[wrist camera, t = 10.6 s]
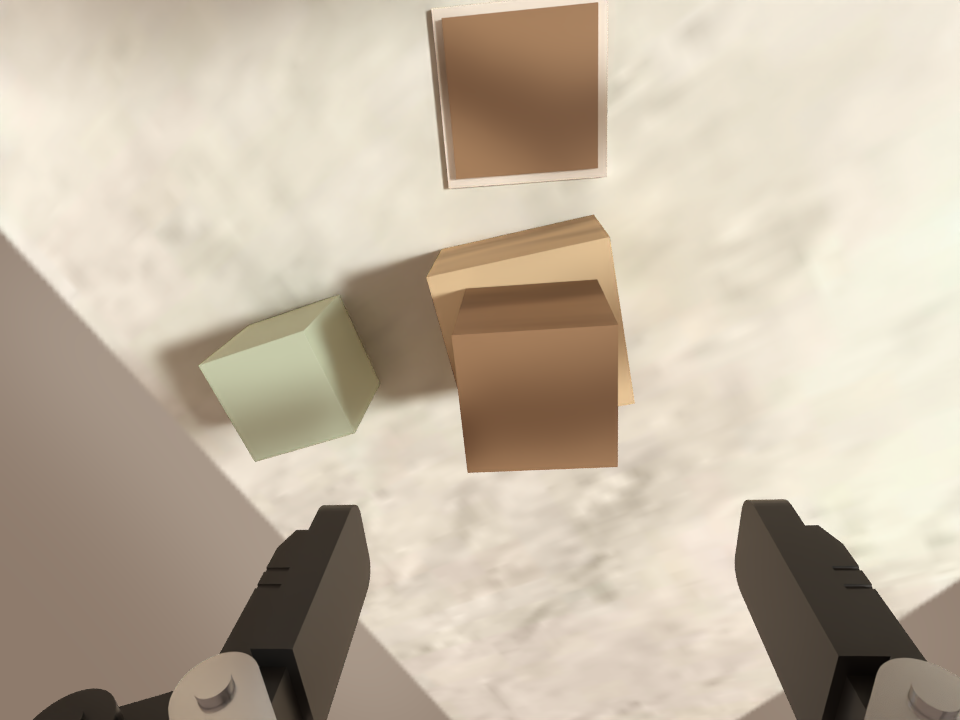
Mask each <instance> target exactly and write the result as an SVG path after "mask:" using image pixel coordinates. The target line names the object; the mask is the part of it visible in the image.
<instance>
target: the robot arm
mask: <svg viewBox="0 0 960 720" xmlns="http://www.w3.org/2000/svg"><path fill="white" fill-rule="evenodd" d="M735 572H736V578H737V582H738V586H739V589H740V591H741V594H742V596H743V598H744V601H745V603H746V605H747V607H748V610H749V612H750V614H751V617H752V619H753V621H754V623H755V626H756V628H757V630H758V632H759V635H760V637H761V639H762V642H763V644H764V646H765V648H766V651H767V653H768V655H769V658H770V660H771V662H772V664H773V667H774V669H775V671H776V673H777V676H778V678H779V680H780V683H781V685H782V687H783V689H784V692H785V694H786V696H787V699H788V701H789V703H790V705H791V707H792V710H793V712H794V714H795V717H796V719H797V720H960V678H959V677H958V676H956V675H955V674H953V673H951V672H950V671H948V670H945V669H944V668H942V667H940V666H937V665H935V664H932V663H930V662H927V661H926V660H925V658H924V657H923V655H922V654H921V653H920V651H919V650H918V648H917V647H916V646H915V644H914V643H913V641H912V640H911V639H910V637H909V636H908V634H907V633H906V632H905V630H904V629H903V627H902V626H901V625H900V623H899V622H898V620H897V619H896V618H895V616H894V615H893V613H892V612H891V611H890V609H889V608H888V606H887V605H886V604H885V602H884V601H883V599H882V598H881V597H880V595H879V594H878V592H877V591H876V590H875V589H873V588H872V584H871V583H870V581H869V580H868V578H867V577H866V576H865V574H864V573H863V571H862V570H859V566H858V564H857V563H856V562H855V560H854V559H853V557H852V556H851V555H850V553H849V552H848V550H847V549H846V548H845V546H844V545H843V544H842V543H841V542H840V541H838V540H837V539H836V538H834V537H833V536H832V535H830V534H829V533H828V532H826V531H825V530H824V529H823V528H821V527H820V526H819V525H808V526H805V525H804V523H803V522H802V520H801V519H800V517H799V516H798V514H797V513H796V511H795V510H794V508H793V507H792V505H791V504H790V503H789V502H788V501H787V500H784V499H778V500H746V501H745V502H744V503H743V506H742V512H741V519H740V526H739V533H738V540H737V547H736V554H735ZM369 580H370V558H369V553H368V548H367V543H366V538H365V533H364V528H363V523H362V518H361V513H360V510H359V508H358V506H357V505H323V506H321V507H320V508H319V510H318V512H317V514H316V516H315V518H314V520H313V522H312V524H311V526H310V528H309V530H296V531H295V532H294V533H293V534H292V535H291V536H289V537H288V538H287V539H286V540H285V541H284V542H283V543H282V544H281V545H280V546H279V547H278V548H277V550H276V551H275V553H274V555H273V557H272V559H271V560H270V563H269V564H268V566H267V571H266V572H264V573H263V575H262V577H261V579H260V581H259V583H258V587H257V588H256V589H255V590H254V592H253V594H252V596H251V597H250V599H249V601H248V603H247V605H246V607H245V608H244V610H243V612H242V614H241V616H240V617H239V619H238V621H237V623H236V625H235V627H234V628H233V630H232V632H231V634H230V636H229V638H228V639H227V641H226V643H225V645H224V647H223V649H222V650H221V652H220V654H219V655H215V656H213V657H211V658H208V659H206V660H204V661H203V662H201V663H200V664H198V665H197V666H195V667H194V668H193V669H191V670H190V671H189V672H188V673H187V674H186V675H185V676H184V677H183V678H182V680H181V681H180V682H179V683H178V685H177V686H176V688H175V689H174V691H171V692H169V693H165V694H162V695H159V696H155V697H152V698H149V699H145V700H141V701H138V702H134V703H131V704H127V705H124V706H120V707H118V705H117V703H116V701H115V699H114V697H113V696H112V695H111V694H110V693H109V692H108V691H106V690H102V689H86V690H82V691H78V692H75V693H73V694H70V695H68V696H66V697H64V698H62V699H60V700H58V701H56V702H55V703H53V704H51V705H50V706H49V707H47V708H46V709H45V710H43V711H42V712H41V713H40V714H39V715H37V716H36V717H35V718H34V719H33V720H327V717H328V714H329V711H330V707H331V704H332V701H333V698H334V694H335V692H336V688H337V685H338V682H339V679H340V675H341V672H342V669H343V666H344V663H345V660H346V657H347V653H348V650H349V647H350V644H351V641H352V638H353V634H354V631H355V628H356V625H357V622H358V619H359V616H360V612H361V609H362V606H363V603H364V600H365V597H366V593H367V590H368V586H369Z"/></svg>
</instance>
